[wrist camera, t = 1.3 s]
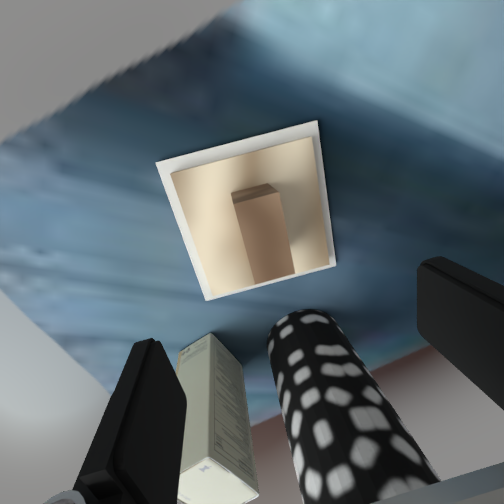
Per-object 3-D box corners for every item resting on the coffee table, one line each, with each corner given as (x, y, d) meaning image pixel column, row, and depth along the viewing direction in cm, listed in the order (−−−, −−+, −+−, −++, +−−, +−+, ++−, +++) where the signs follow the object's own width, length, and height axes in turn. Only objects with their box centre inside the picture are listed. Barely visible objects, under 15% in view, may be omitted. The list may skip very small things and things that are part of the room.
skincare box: (178, 351, 28) (150, 487, 17) (212, 329, 28) (207, 455, 16) (213, 385, 30) (209, 525, 19) (245, 366, 30) (261, 498, 19)
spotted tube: (251, 341, 29) (307, 691, 10) (312, 294, 27) (504, 600, 9) (295, 381, 32) (402, 710, 13) (353, 341, 30) (561, 643, 12)
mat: (314, 120, 21) (317, 120, 21) (333, 263, 26) (336, 265, 26) (157, 162, 21) (155, 162, 21) (206, 297, 26) (206, 300, 26)
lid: (306, 137, 21) (335, 134, 16) (324, 259, 25) (351, 288, 20) (172, 172, 21) (157, 180, 16) (213, 289, 25) (211, 326, 20)
